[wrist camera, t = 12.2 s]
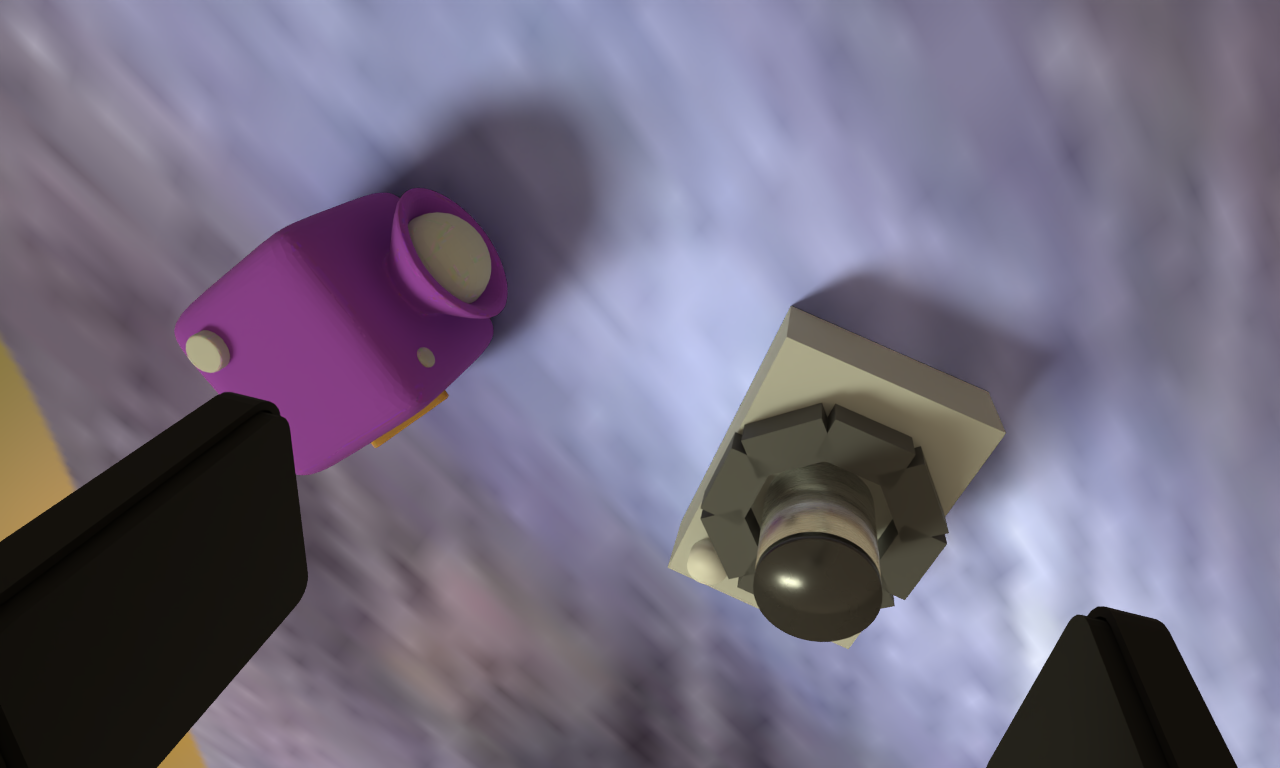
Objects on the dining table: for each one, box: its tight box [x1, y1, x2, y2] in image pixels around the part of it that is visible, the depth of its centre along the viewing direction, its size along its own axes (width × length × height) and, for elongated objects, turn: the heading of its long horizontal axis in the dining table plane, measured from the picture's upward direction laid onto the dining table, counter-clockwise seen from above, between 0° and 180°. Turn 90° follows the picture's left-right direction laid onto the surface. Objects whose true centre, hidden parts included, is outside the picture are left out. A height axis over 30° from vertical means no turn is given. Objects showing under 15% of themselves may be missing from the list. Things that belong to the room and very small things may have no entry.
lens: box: [753, 462, 883, 642], centre depth 33 cm, size 5×5×6 cm
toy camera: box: [174, 188, 507, 475], centre depth 35 cm, size 11×14×10 cm
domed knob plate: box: [668, 306, 1006, 649], centre depth 37 cm, size 14×10×6 cm
